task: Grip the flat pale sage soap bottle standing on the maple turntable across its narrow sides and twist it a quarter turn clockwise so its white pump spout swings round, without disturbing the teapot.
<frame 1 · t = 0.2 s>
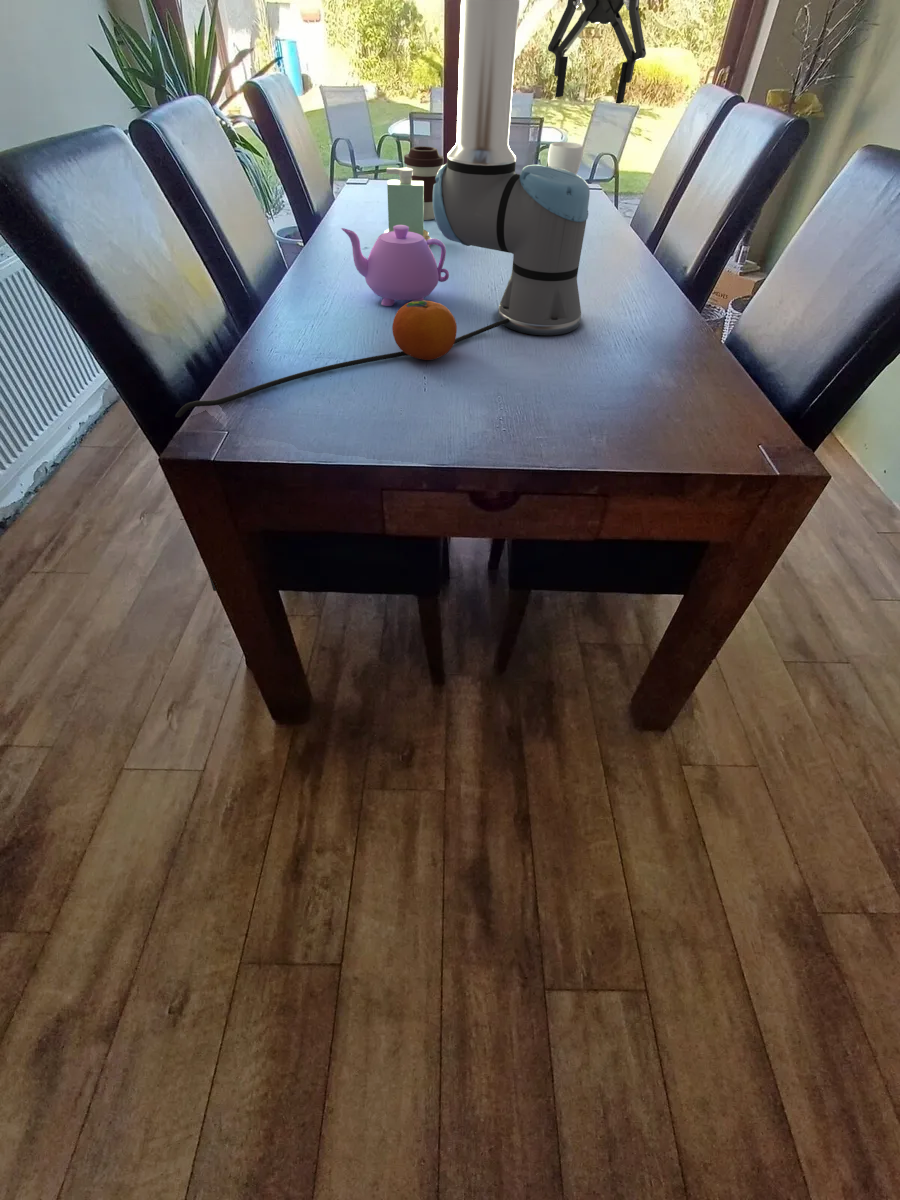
hand: (588, 99, 134), 28 cm above the table, tool pointing down, fingers open, 13 cm apart
turntable base: (406, 243, 150), on the table
teapot: (397, 298, 124), on the table
fruit: (424, 355, 105), on the table
cup: (557, 217, 173), on the table
soap bottle: (406, 203, 144), point 8 cm above the table, hinge at 0.0°
coffee cup: (423, 217, 168), on the table
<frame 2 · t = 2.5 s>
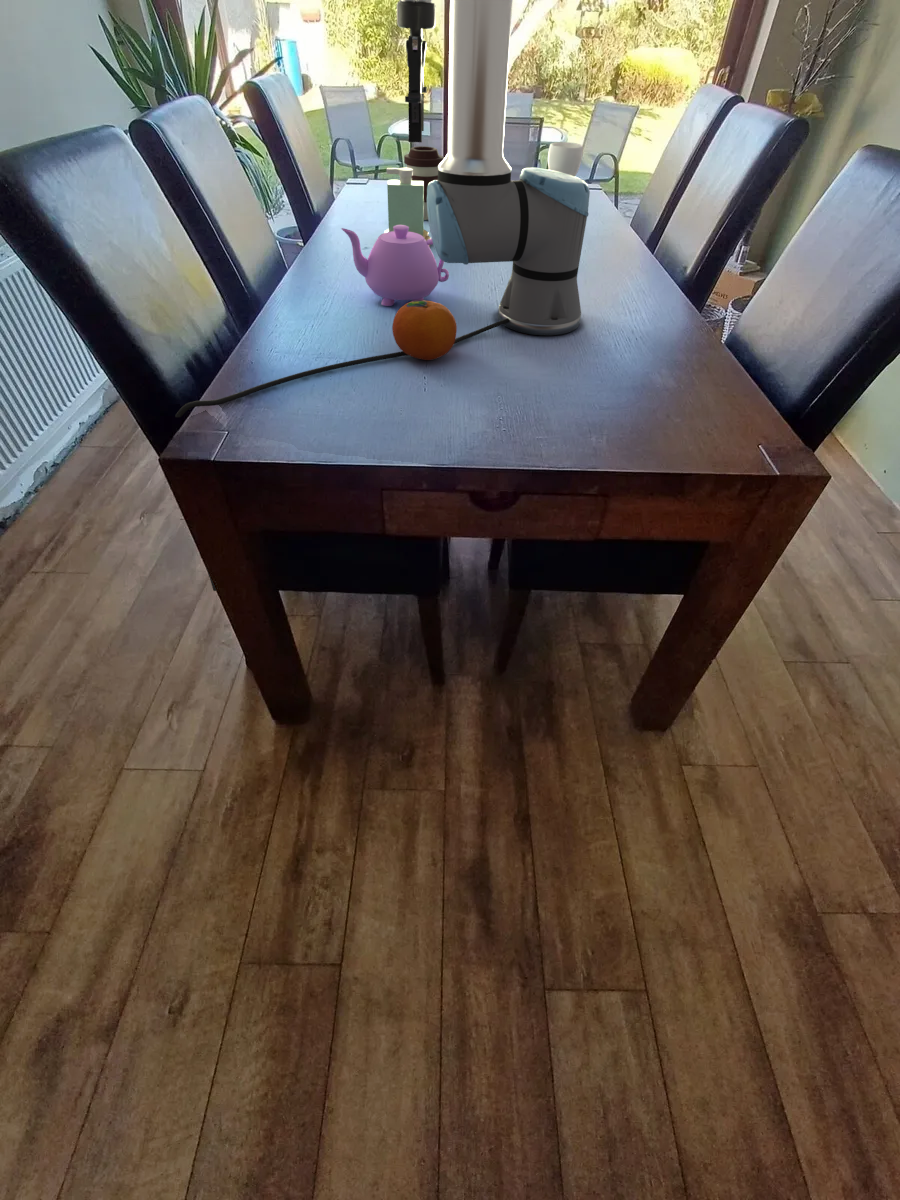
hand: (416, 136, 136), 21 cm above the table, tool pointing down, fingers open, 13 cm apart
nothing on the table moved.
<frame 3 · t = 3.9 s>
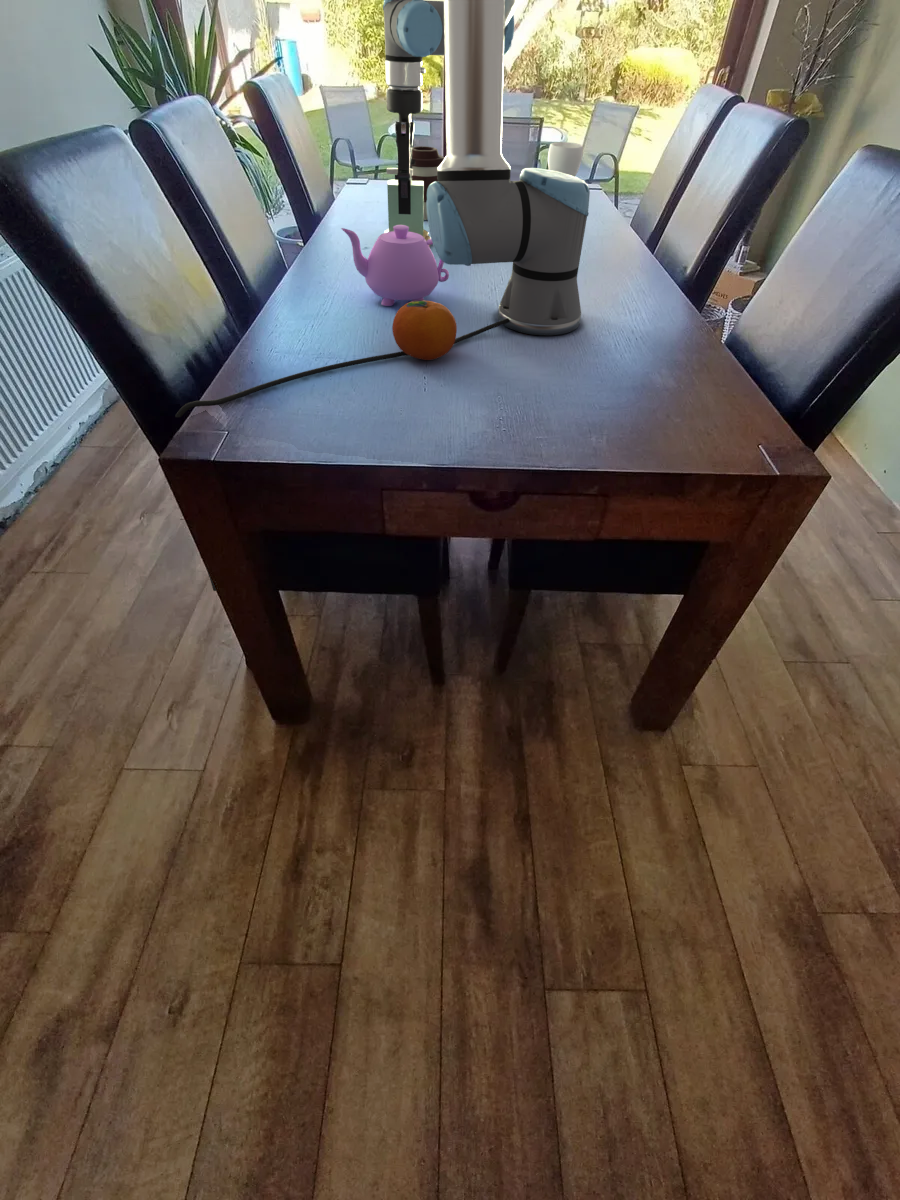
hand: (405, 206, 145), 8 cm above the table, tool pointing down, fingers open, 13 cm apart
nothing on the table moved.
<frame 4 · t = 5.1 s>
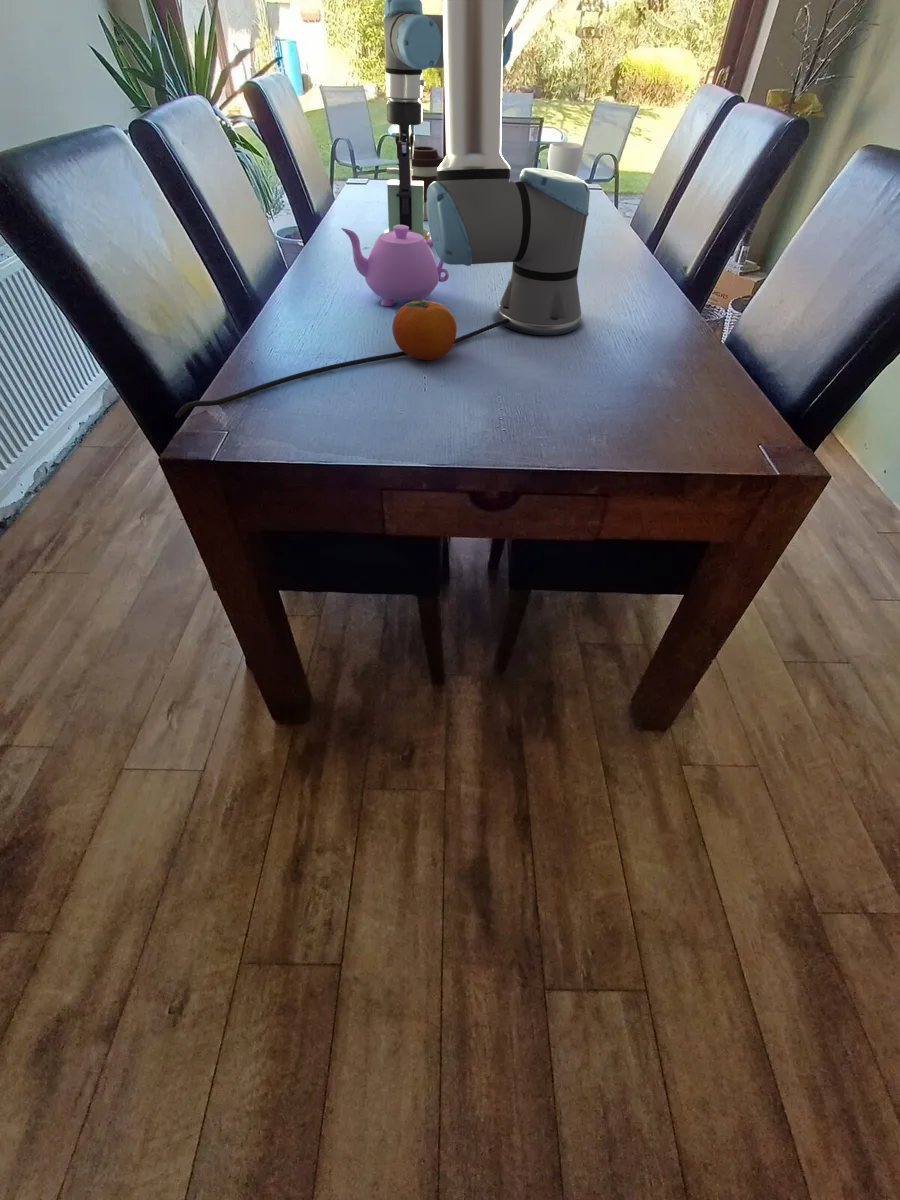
hand: (406, 225, 147), 4 cm above the table, tool pointing down, fingers closed on soap bottle, 5 cm apart
soap bottle: (406, 203, 144), point 8 cm above the table, hinge at 0.0°, touching gripper
everything else where it was.
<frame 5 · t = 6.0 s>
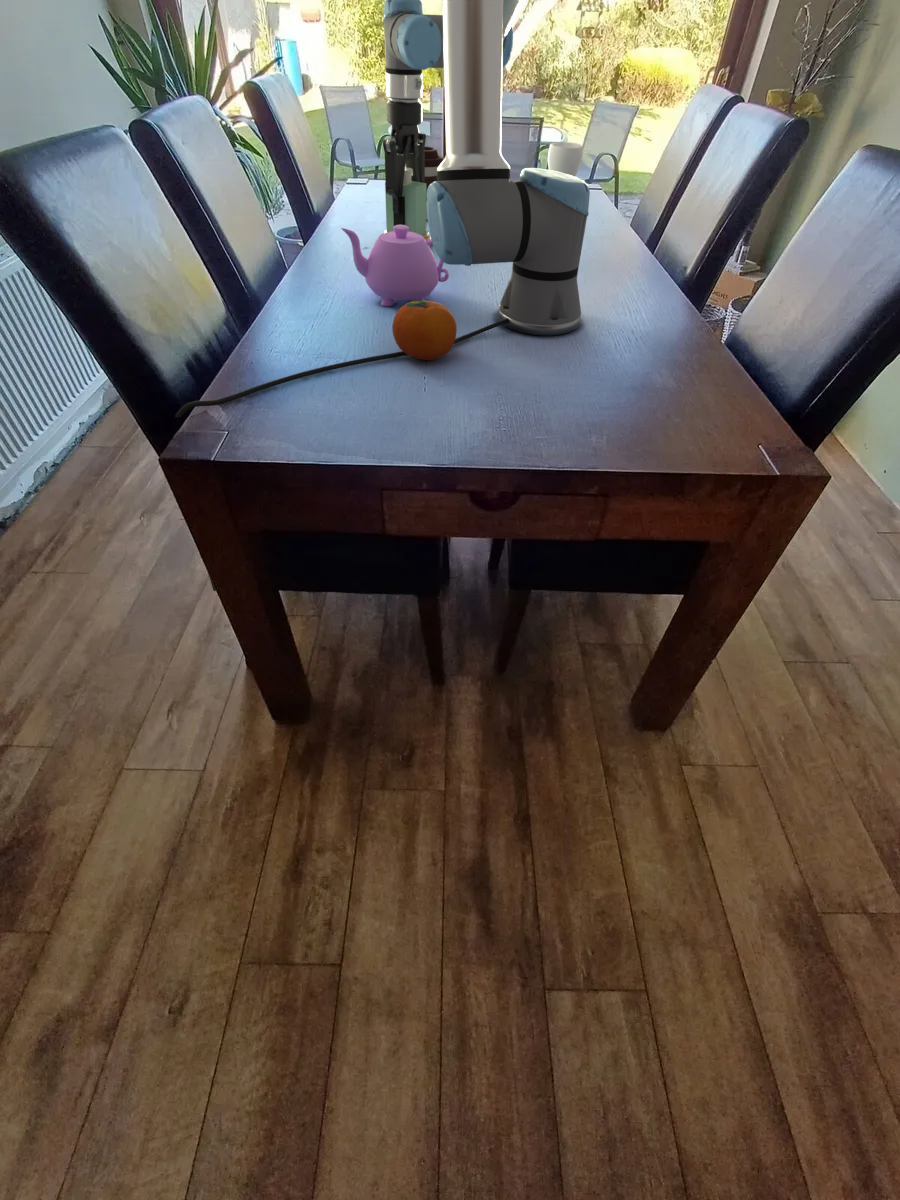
hand: (406, 225, 147), 4 cm above the table, tool pointing down, fingers closed on soap bottle, 5 cm apart
soap bottle: (406, 203, 144), point 8 cm above the table, hinge at -29.1°, touching gripper
everything else where it was.
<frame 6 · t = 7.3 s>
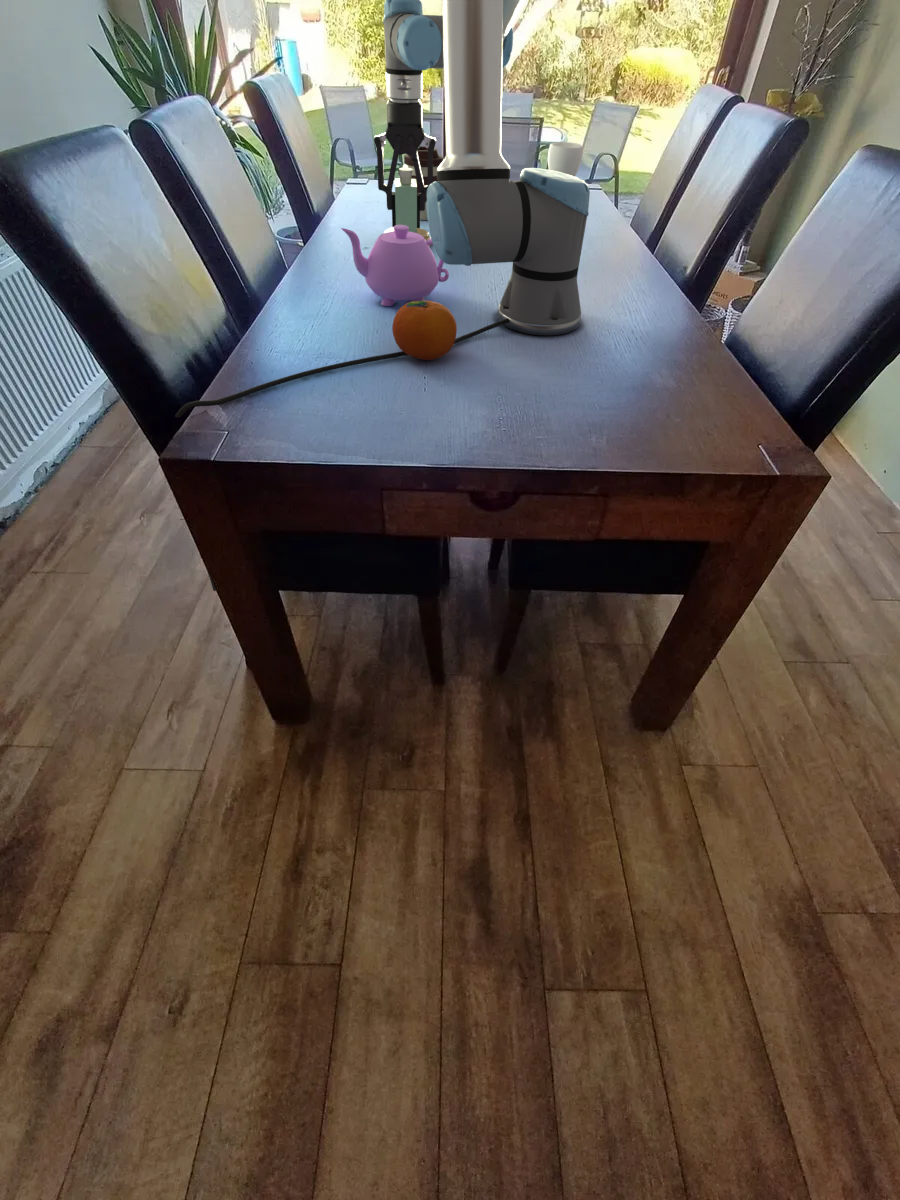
hand: (406, 225, 148), 4 cm above the table, tool pointing down, fingers closed on soap bottle, 5 cm apart
soap bottle: (406, 203, 144), point 8 cm above the table, hinge at -87.3°, touching gripper
everything else where it was.
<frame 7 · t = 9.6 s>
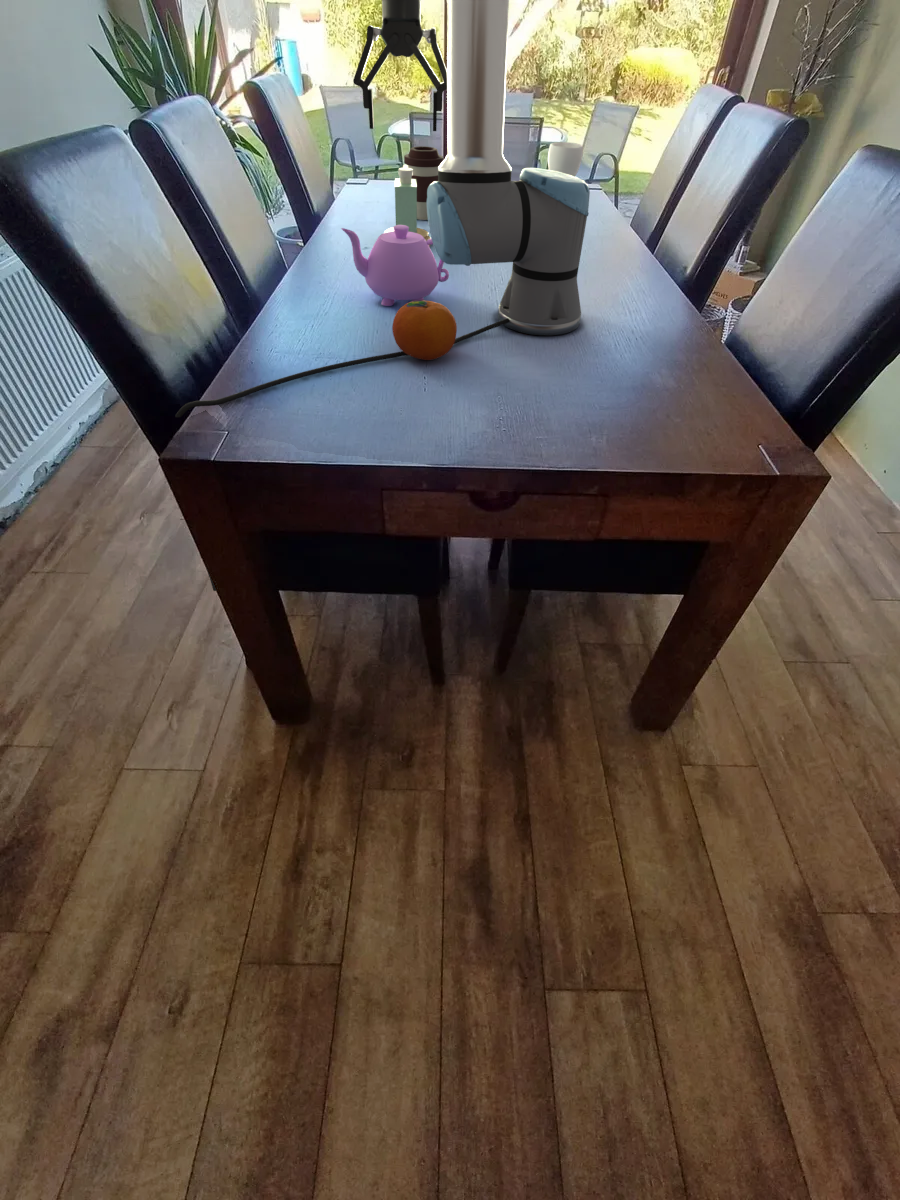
hand: (403, 129, 136), 22 cm above the table, tool pointing down, fingers open, 13 cm apart
soap bottle: (406, 203, 144), point 8 cm above the table, hinge at -88.0°
everything else where it was.
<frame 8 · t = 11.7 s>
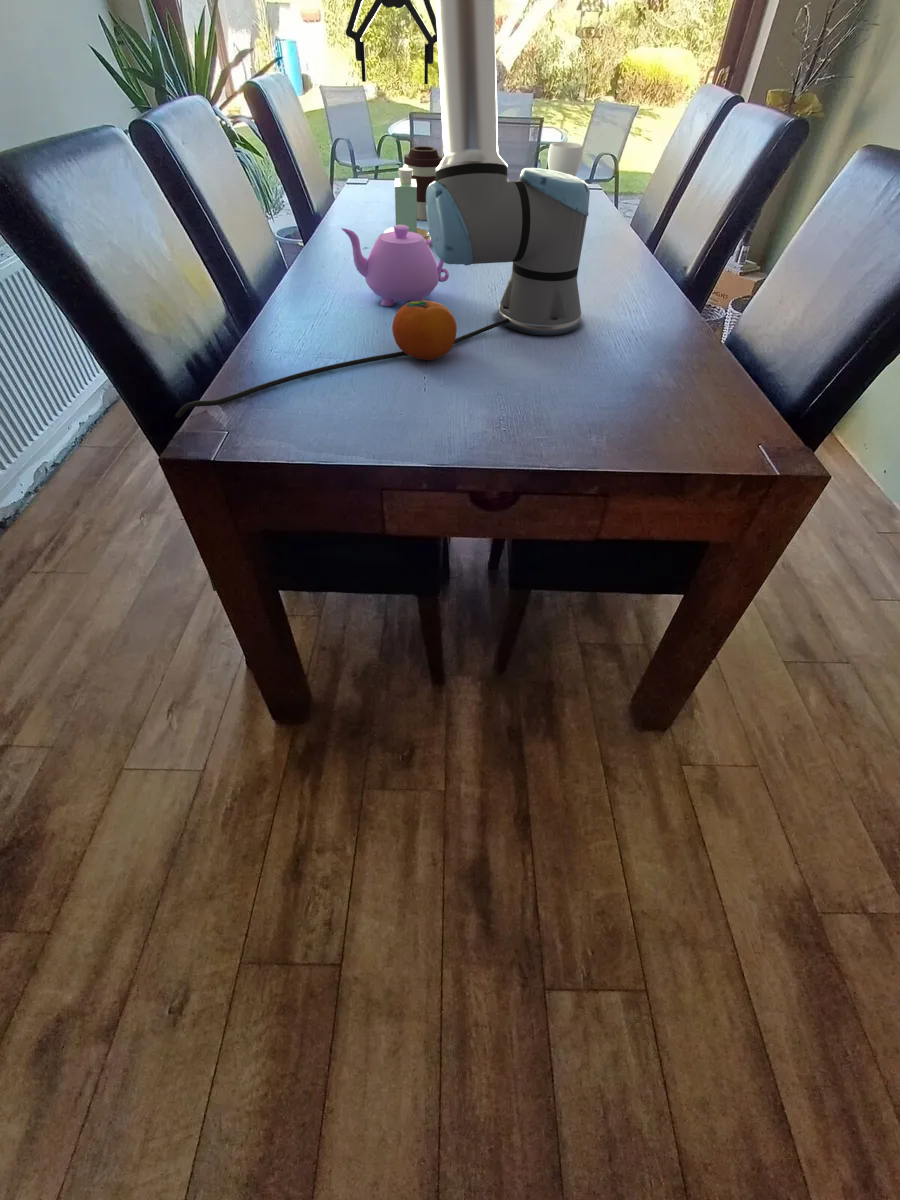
hand: (395, 82, 138), 29 cm above the table, tool pointing down, fingers open, 13 cm apart
nothing on the table moved.
at the end: soap bottle at -88° (first picture: +0°); teapot moved 0.2 cm from its start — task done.
